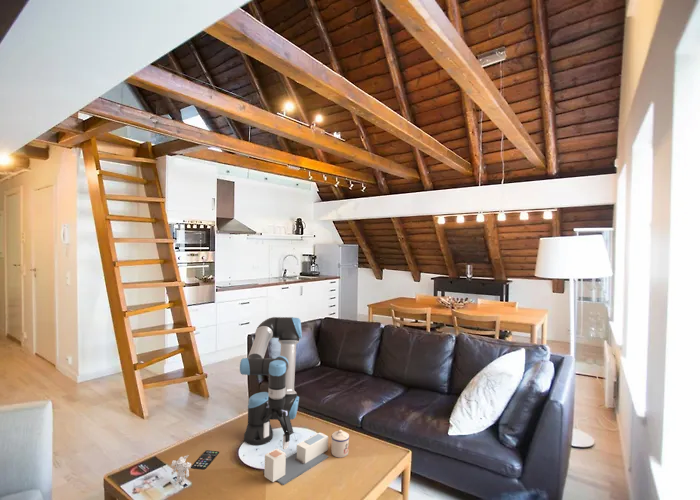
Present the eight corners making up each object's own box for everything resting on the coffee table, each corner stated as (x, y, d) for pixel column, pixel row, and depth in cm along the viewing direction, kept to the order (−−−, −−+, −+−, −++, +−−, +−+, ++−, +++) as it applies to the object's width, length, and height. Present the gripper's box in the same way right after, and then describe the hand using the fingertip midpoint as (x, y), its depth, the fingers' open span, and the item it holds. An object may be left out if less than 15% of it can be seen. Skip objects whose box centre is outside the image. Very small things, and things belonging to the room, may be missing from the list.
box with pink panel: (264, 476, 171) (264, 454, 171) (276, 469, 177) (277, 448, 176) (273, 482, 167) (273, 459, 167) (285, 474, 173) (285, 453, 172)
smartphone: (220, 451, 191) (205, 469, 176) (220, 452, 191) (205, 470, 176) (206, 450, 192) (190, 467, 177) (206, 451, 192) (189, 468, 177)
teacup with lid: (347, 459, 188) (347, 436, 188) (329, 456, 190) (329, 433, 189) (351, 446, 200) (351, 424, 200) (334, 444, 201) (334, 422, 201)
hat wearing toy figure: (192, 481, 168) (193, 454, 167) (187, 487, 164) (187, 459, 163) (173, 478, 169) (174, 452, 169) (168, 484, 165) (168, 457, 165)
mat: (263, 472, 176) (263, 470, 176) (308, 446, 198) (308, 445, 198) (283, 485, 167) (283, 484, 167) (328, 457, 189) (328, 456, 189)
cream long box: (294, 459, 185) (294, 445, 185) (319, 445, 199) (319, 431, 198) (303, 464, 181) (303, 449, 181) (327, 449, 195) (328, 435, 195)
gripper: (252, 390, 176) (251, 435, 177) (289, 407, 160) (287, 456, 161) (266, 385, 182) (265, 429, 183) (302, 401, 166) (301, 449, 167)
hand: (275, 442), depth 172 cm, fingers open, 13 cm apart
